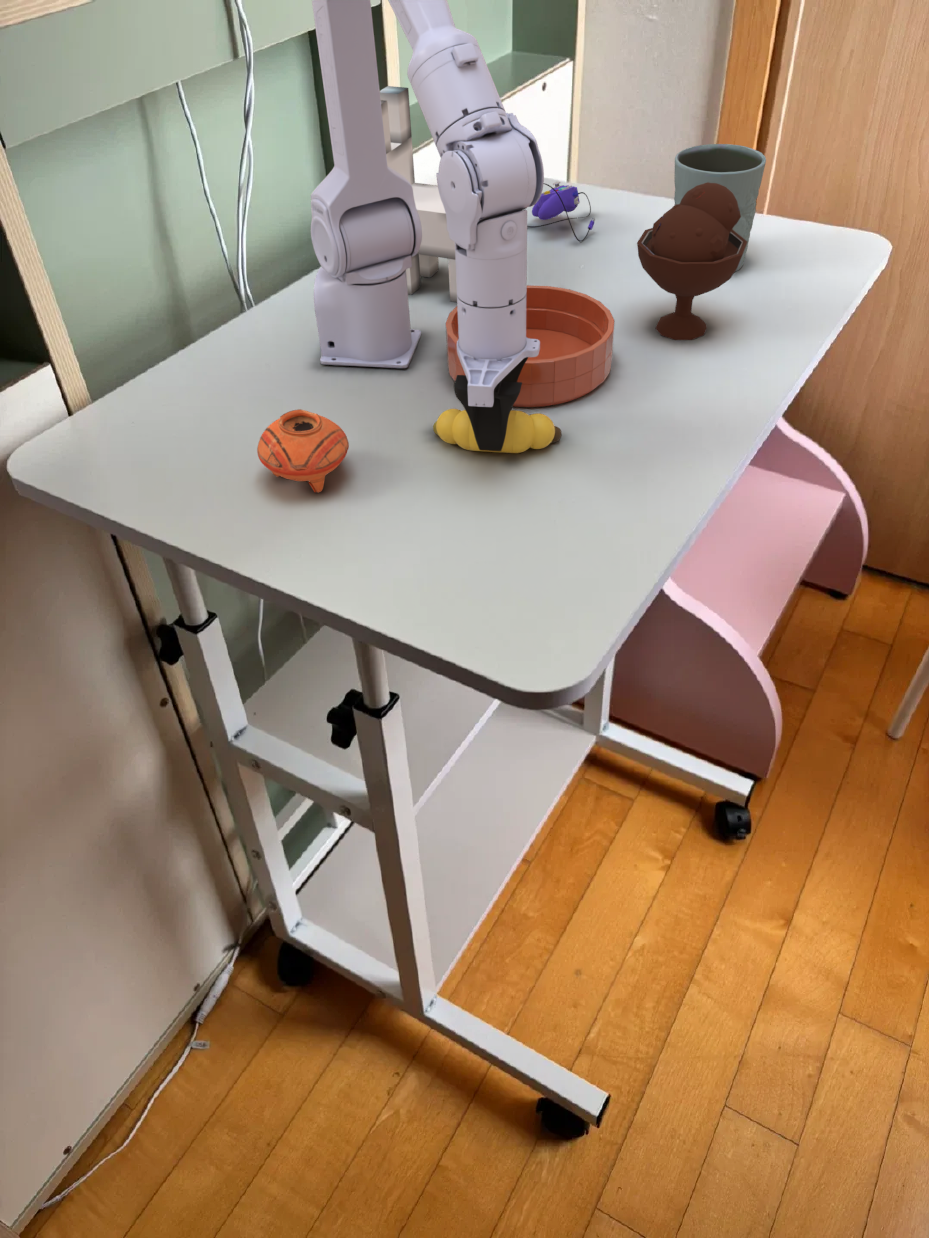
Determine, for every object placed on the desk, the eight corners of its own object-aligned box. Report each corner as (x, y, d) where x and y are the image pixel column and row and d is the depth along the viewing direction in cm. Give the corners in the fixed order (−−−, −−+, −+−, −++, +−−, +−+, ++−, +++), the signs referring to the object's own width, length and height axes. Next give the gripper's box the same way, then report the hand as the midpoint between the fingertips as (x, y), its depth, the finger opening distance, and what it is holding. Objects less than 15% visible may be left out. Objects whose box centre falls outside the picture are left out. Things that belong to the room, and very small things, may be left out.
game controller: (508, 187, 127) (581, 165, 126) (522, 251, 130) (594, 230, 129) (515, 190, 118) (594, 166, 117) (530, 258, 121) (607, 235, 121)
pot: (297, 439, 90) (301, 380, 85) (361, 480, 88) (369, 422, 83) (237, 478, 85) (237, 418, 80) (303, 523, 83) (308, 464, 78)
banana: (426, 456, 88) (423, 420, 85) (435, 429, 91) (432, 394, 89) (557, 464, 86) (559, 427, 84) (562, 437, 90) (563, 401, 87)
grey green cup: (743, 282, 112) (761, 175, 104) (657, 274, 115) (668, 169, 106) (752, 248, 119) (770, 145, 111) (670, 241, 122) (682, 140, 113)
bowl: (434, 404, 95) (432, 358, 91) (462, 326, 107) (460, 282, 103) (606, 414, 92) (609, 367, 89) (614, 332, 104) (618, 288, 101)
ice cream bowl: (661, 297, 110) (677, 160, 100) (750, 323, 105) (776, 181, 94) (610, 333, 104) (621, 190, 94) (702, 362, 99) (724, 214, 89)
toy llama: (489, 307, 110) (486, 118, 96) (356, 285, 115) (334, 103, 102) (514, 281, 115) (514, 97, 101) (384, 261, 120) (368, 84, 106)
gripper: (530, 336, 73) (528, 484, 82) (549, 258, 83) (545, 397, 92) (439, 332, 74) (447, 479, 83) (468, 255, 84) (473, 393, 93)
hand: (493, 435), depth 88 cm, fingers closed on banana, 4 cm apart
